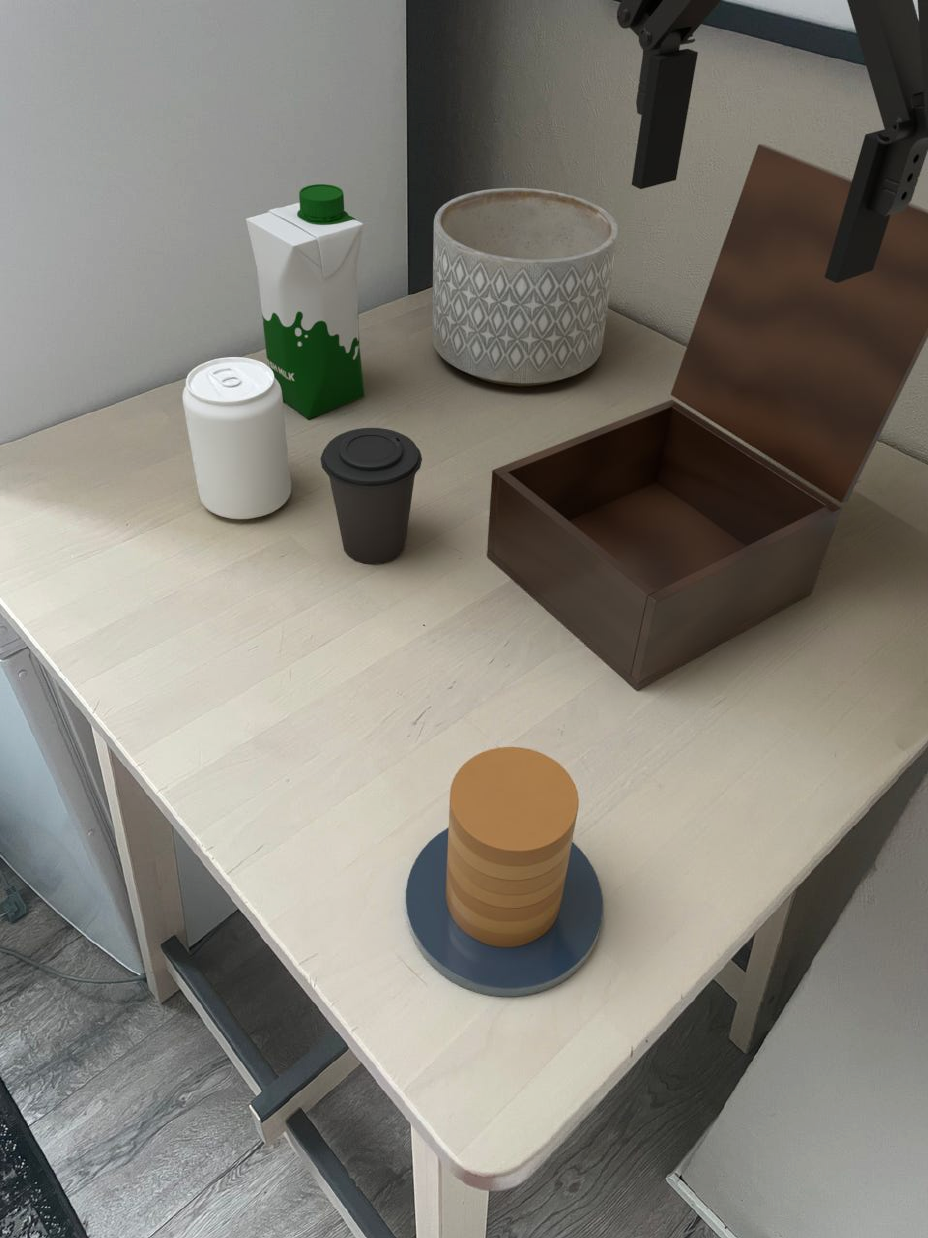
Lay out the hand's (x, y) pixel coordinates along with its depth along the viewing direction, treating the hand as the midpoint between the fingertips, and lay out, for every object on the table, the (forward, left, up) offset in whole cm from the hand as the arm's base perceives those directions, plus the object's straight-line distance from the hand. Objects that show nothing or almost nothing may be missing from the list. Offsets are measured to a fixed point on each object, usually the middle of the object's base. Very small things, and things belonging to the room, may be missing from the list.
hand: (743, 225), depth 53 cm
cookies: (-9, +20, -34) cm, 40 cm away
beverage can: (+37, +14, -35) cm, 53 cm away
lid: (+9, -21, -15) cm, 27 cm away
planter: (+45, -23, -35) cm, 61 cm away
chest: (+9, -9, -35) cm, 37 cm away
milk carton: (+49, 0, -35) cm, 60 cm away
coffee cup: (+25, +8, -35) cm, 44 cm away
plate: (-9, +20, -35) cm, 41 cm away
